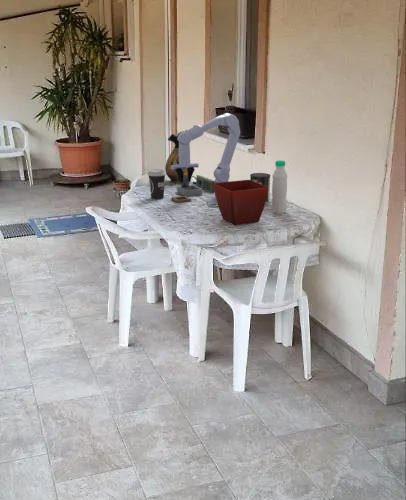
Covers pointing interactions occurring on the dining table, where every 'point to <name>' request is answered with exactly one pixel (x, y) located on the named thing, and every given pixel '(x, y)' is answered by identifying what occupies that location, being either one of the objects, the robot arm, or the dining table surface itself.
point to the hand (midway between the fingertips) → (185, 182)
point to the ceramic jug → (173, 160)
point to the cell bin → (189, 190)
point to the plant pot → (241, 201)
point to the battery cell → (185, 179)
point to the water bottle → (279, 188)
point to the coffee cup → (157, 183)
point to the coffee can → (262, 181)
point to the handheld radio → (205, 183)
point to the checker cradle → (181, 199)
